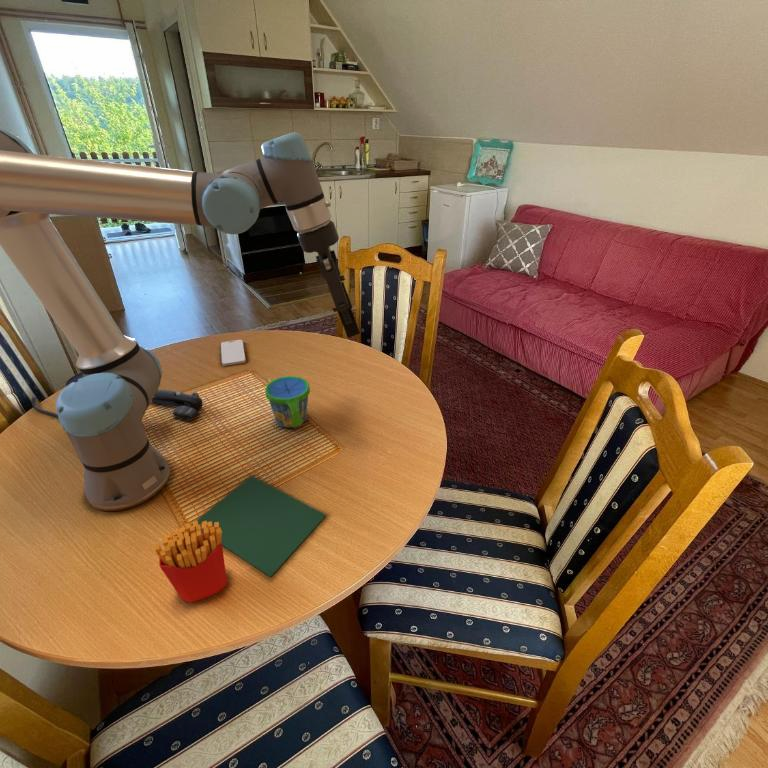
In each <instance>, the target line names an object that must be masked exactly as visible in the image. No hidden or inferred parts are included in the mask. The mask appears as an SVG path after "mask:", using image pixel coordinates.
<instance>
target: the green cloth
mask: <svg viewBox="0 0 768 768" xmlns="http://www.w3.org/2000/svg"><path fill="white" fill-rule="evenodd" d="M326 517H327V515H326V514H325V513H324V512H321V511H320V510H318V509H316V508H314V507H312V506H309V505H308V504H306V503H304V502H302V501H300V500H298V499H296V498H295V497H292V496H291V495H289V494H287V493H285V492H283V491H281V490H279V489H277V488H275V486H272V485H270V484H268V483H267V482H264V481H262V480H260V479H259V478H256V477H255V476H253V475H250V476H249V477H248V478H247V479H245V480H244V481H243V482H241V484H239V485H238V486H237V487H236V488H235V489H233V490H232V491H231V492H230V493H228V494H227V495H226V496H225V497H223V498H222V499H221V500H220V501H218V502H217V503H216V504H215V505H214V506H212V507H211V508H210V509H209V510H208V511H207V512H205V513H204V514H203V515H202V516H200V517H199V518H198V519H197V520H196V521H198V525H200V527H201V532H202V534H203V531H202V525H201V523H202V522H203V521H207V522H210V521H212V526H213V527H214V522H219V528H221V530H222V536H221V542H222V548H224V549H226V550H228V551H229V552H231V553H233V554H234V555H236V556H237V557H238V558H240V559H241V560H243V561H245V562H246V563H248V564H249V565H251V566H252V567H254V568H255V569H257V570H258V571H260V572H262V573H263V574H264V575H266V576H267V577H269V578H272V577H273V576H274V575H275V573H277V572H278V570H279V569H280V568H281V567H282V566H283V565H284V564H285V563H286V561H287V560H288V559H289V558H290V557H291V556H292V555H293V554H294V552H296V550H297V549H298V548H299V547H300V546H301V545H302V544H303V542H304V541H305V540H306V539H307V538H308V537H309V536H310V535H311V534H312V533H313V531H314V530H315V529H316V528H317V527H318V526H319V524H320V523H322V522H323V520H324V519H325V518H326ZM192 525H193V523H192V524H191V526H192ZM207 526H208V525H207Z"/></svg>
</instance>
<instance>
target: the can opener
mask: <svg viewBox="0 0 768 768" xmlns="http://www.w3.org/2000/svg"><path fill="white" fill-rule="evenodd" d="M151 403H154V404H158V405H162V406H168V407H176V408H175V409H174V410H173V412H172V415H173V416H174V417H175V418H178V419H179V420H185V421H190V420H193V419H194V418H196V417H197V416H198V415H199V414H200V413H199V412H200V411H201V410H202V408H203V406H204V403H203V399H202V398H201V397H200V396H199V393H198V392H197V391H193V392H192V393H190V394H189V393H184V392H180V391H177V390H170V389H161V388H158V390H157V391H156V393H155V395H154V397H153V399H152V400H151Z"/></svg>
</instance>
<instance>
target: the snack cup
mask: <svg viewBox="0 0 768 768" xmlns="http://www.w3.org/2000/svg"><path fill="white" fill-rule="evenodd" d="M310 393H311V388H310V383H309V381H307V380H306V379H305V378H303V377H301V376H297V375H286V376H279V377H277V378H275V379H272V380H271V381H270V382H268V383H267V385H266V386H265V388H264V394H265V397H266V398H267V400H268V402H269V405H270V408H271V410H272V414H273V416H274V419H275V422H276V424H278V425H279V426H280V427H281V428H286V429H291V428H292V429H295V428H297V427H300V426H301V425H302V424H304V423H305V422H306V420H307V415H308V403H309V395H310Z"/></svg>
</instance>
